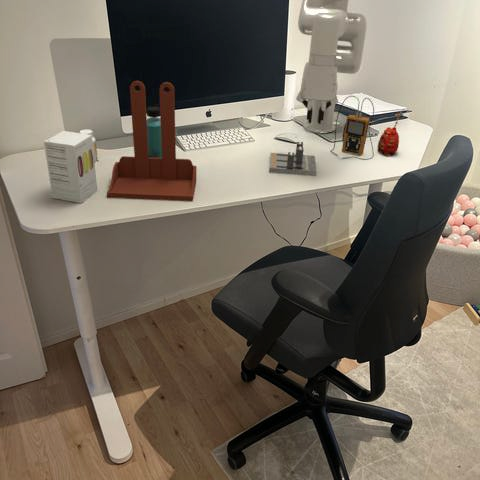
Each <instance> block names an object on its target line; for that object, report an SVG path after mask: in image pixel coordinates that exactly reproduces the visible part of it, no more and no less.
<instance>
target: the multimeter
mask: <svg viewBox="0 0 480 480" xmlns="http://www.w3.org/2000/svg"><path fill="white" fill-rule="evenodd" d="M351 97H353V98H355V99H356V100H357V102H360V100H359V98H358V97H357V96H355V95H348V96H347V97H346V98H345V99H344V100H343V102H342V103H341V105H340V108H339V110H338V112H337V116H336V120H335V126H337V123H338V118H339V115H340V111H341V110H342V107H343V105H344V103H345V101H346V100H347V99H349V98H351ZM366 99H367V100H368V101H369V102H370V104H371V106H372V111H373V112H372V116H371V119H370V118H369V117H364V116H362V109H363V104H364V102H365V100H366ZM360 106H361V108H360ZM374 107H375V106H374V104H373V101H372V99H370V98H369V97H364V99H363V100H362V102H361V105H360V104H358V106H357V110H356V115H354V114H348V116H347V117H346V120H345V124H344V127H343V132H342V147H341V152H342V153H344V154H345V153H346V154H351V155H352V158H356V159H359V160H363V161H364V160H365V161H366V160H367V161H368V160H371V159H373V158H374V152H372V157H370V158H361V157H360V156H362V155H364V151H365V147H366V141H367V135H369V139H370V140H369V141H370V143H371V148H372V149H371V150H372V151H374V148H373V143H372V137H371V134H370V132H369V130H371V125H372V122H373V121H372V120H373V117H374V114H375V108H374ZM359 109H360V110H359ZM359 111H360V112H359ZM370 120H371V121H370ZM336 134H337V127H336V128H335V131H334V140H336V139H337V138H336V136H337V135H336ZM335 146H336V142H334V145H333V148H332V149H331V150H330V153H332V154H333V155H334V156H336V157H339V158H337V159H338V160H340V159H341V160H345V159H350V158H351V156H343V157H340V155H338V154H337V153H335V152H333V151H334V150H335ZM353 155H355V156H353Z"/></svg>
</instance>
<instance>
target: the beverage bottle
mask: <svg viewBox="0 0 480 480" xmlns="http://www.w3.org/2000/svg"><path fill="white" fill-rule="evenodd" d="M146 116H147V117H149V118H147V136H148V155H149V157H151V158H162V147H161V120H160V107H157V106H150V107H149V106H148V107H146Z"/></svg>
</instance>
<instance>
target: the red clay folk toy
mask: <svg viewBox="0 0 480 480" xmlns="http://www.w3.org/2000/svg"><path fill="white" fill-rule="evenodd" d="M401 115H402V111H401V110H400V112H399V113H396V114H395V117H397V119H396V121H395V124H394V126H393V127H390V126H389V127H386V129H384V131H383V133H382V134H381V135H380V138H379V140H378V143H377V152H379V154H381V155H382V156H384V157H389V156H394V155H395V154H396V153H397V152H398V149H399V143H400V135H399V132H398V131H397V128H396V126H397V125H398V120H399V118H400V116H401Z"/></svg>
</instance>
